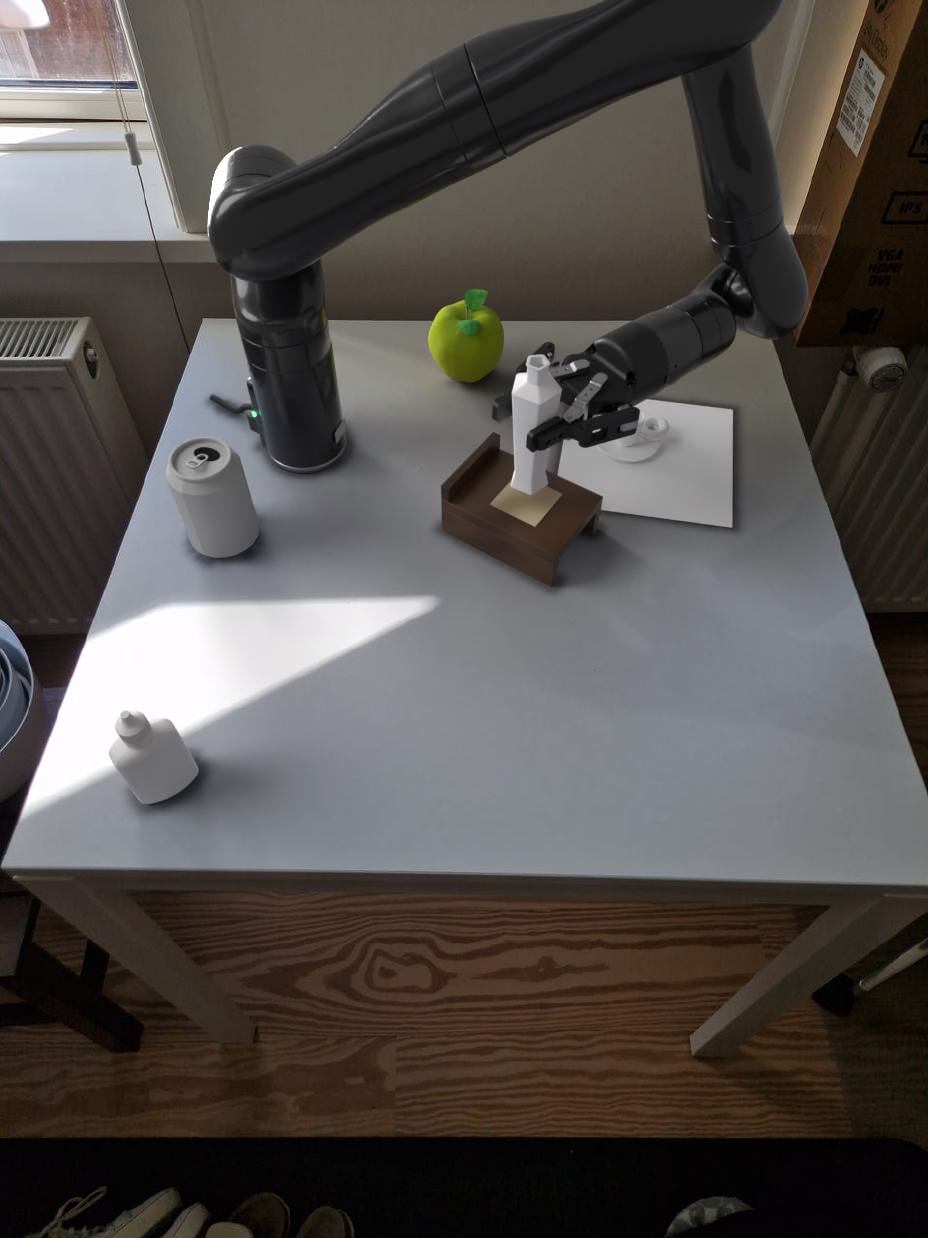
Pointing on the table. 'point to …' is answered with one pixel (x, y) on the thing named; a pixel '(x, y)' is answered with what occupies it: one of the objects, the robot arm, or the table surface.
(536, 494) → the wooden display stand
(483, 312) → the fruit
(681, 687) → the table surface
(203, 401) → the table surface
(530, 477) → the white faceted vase
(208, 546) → the can
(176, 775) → the eye dropper bottle
